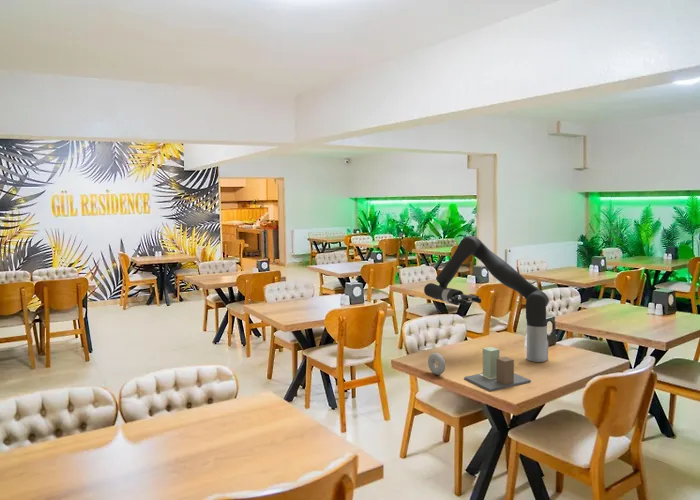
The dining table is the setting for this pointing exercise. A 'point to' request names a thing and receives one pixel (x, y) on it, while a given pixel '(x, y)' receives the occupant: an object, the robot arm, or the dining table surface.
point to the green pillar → (490, 361)
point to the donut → (433, 366)
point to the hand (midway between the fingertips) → (473, 301)
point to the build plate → (494, 382)
